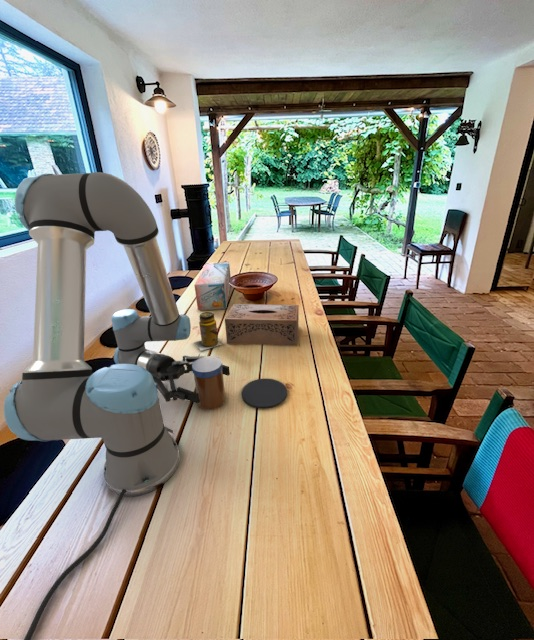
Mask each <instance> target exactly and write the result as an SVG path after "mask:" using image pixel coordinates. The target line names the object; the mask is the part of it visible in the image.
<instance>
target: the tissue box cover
mask: <svg viewBox="0 0 534 640" xmlns="http://www.w3.org/2000/svg"><path fill="white" fill-rule="evenodd" d="M299 305H300V304H263V303H261V304H259V303H257V304H256V303H255V304H254V303H251V304H250V303H245V304H244V303H233V305H232V306H231V308H230V309H229V311H228V313H227V314H226V316H225V318H224V326H225V336H226V344H228V345H229V344H231V345H232V344H233V345H262V346H291V347H297V345H298V335H299V325H300V324H299V323H300V321H299V318H300V317H299V316H300V315H299V313H300V309H299V308H300V307H299Z"/></svg>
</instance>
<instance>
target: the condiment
mask: <svg viewBox="0 0 534 640" xmlns="http://www.w3.org/2000/svg"><path fill="white" fill-rule="evenodd" d="M198 317H199V322H198V326H199V331H200V338H201V339H200V340H199V341H195V342H193V345H194V346H195V347H196V348H197V349H199V351H200V352H203V351H206V350H209V349H212V348H215V347H218V346H222V345H223V343H222V342H220V340H219V336H218V327H217V320H216V318H215V313H214V312H212V311H204V312H203V311H202V312H201V313H200V314H199V316H198Z"/></svg>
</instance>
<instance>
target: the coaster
mask: <svg viewBox="0 0 534 640" xmlns="http://www.w3.org/2000/svg"><path fill="white" fill-rule="evenodd" d="M240 395H241V399H242V401H243V402H244V403H245V405H248V406H250V407H252V408H255V409H264V410H265V409H272V408H275V407H278V406H279V405H281V404H282V403H283V402H285V400H286V399H287V397H288V388H287V387H286V385H285V384H283V383H282V382H281V381H280V380H277V379H273V378H258V379H254V380H251V381H250V382H247V384H245V385H244V386H243V388H242V389H241V393H240Z"/></svg>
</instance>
